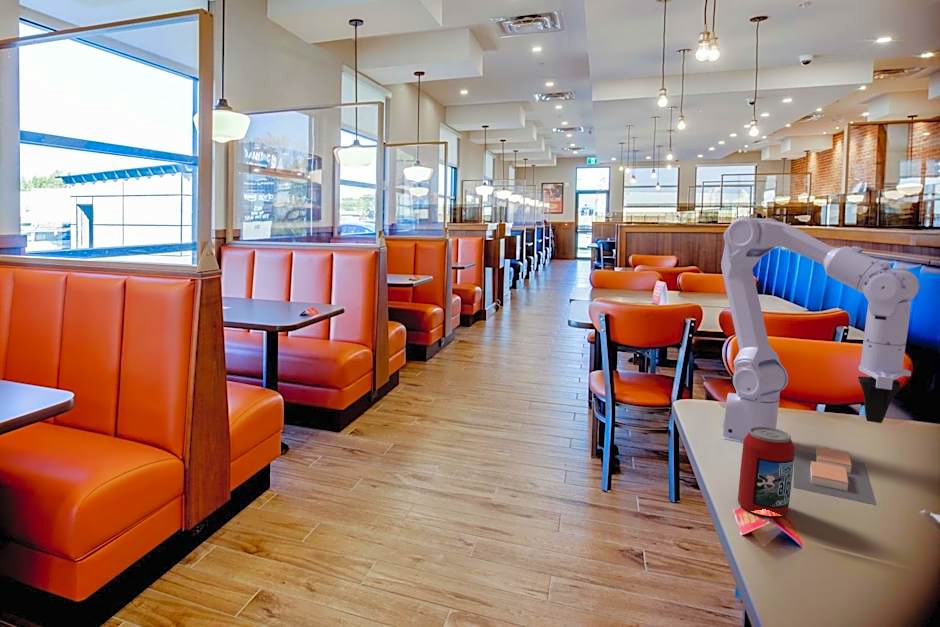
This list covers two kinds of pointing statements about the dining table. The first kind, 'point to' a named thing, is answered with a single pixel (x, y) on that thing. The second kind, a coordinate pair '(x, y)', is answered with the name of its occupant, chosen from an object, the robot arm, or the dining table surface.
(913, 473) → the dining table surface
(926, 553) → the dining table surface
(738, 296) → the robot arm
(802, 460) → the placemat
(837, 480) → the tile
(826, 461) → the flat tile
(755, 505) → the beverage can
